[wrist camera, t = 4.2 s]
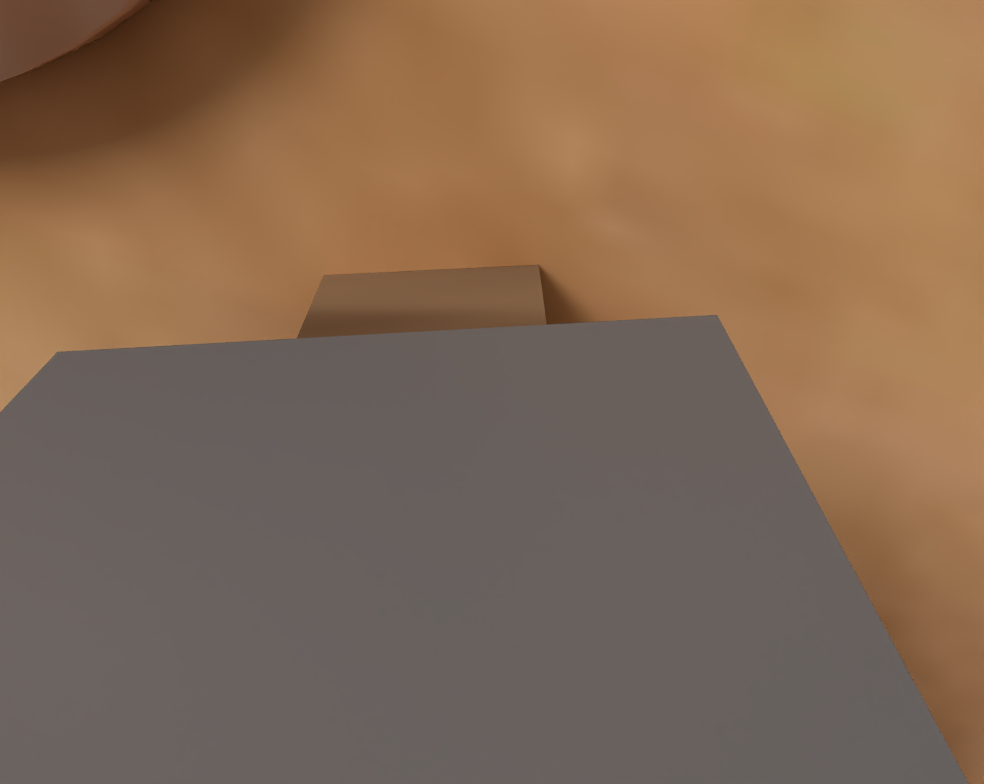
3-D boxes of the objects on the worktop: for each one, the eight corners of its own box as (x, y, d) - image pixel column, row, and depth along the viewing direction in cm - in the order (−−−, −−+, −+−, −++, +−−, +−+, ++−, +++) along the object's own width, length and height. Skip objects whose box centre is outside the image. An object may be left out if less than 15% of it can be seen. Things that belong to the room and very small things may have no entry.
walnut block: (543, 441, 16) (555, 573, 13) (353, 450, 16) (320, 582, 13) (538, 262, 14) (552, 366, 11) (324, 273, 14) (279, 378, 11)
